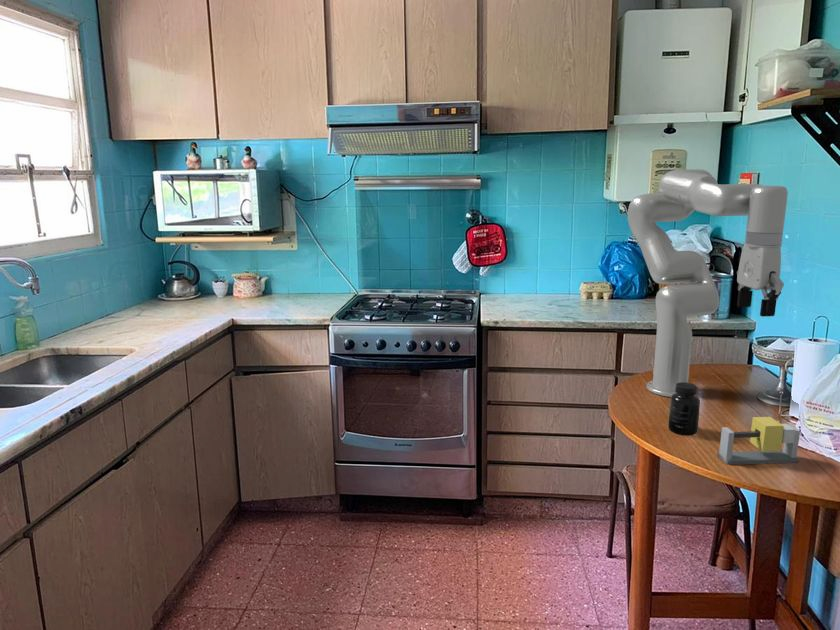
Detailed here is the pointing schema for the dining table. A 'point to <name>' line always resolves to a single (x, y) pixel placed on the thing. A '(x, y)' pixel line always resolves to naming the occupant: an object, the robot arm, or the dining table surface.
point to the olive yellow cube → (767, 434)
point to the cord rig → (756, 457)
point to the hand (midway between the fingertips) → (755, 311)
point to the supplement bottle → (684, 410)
